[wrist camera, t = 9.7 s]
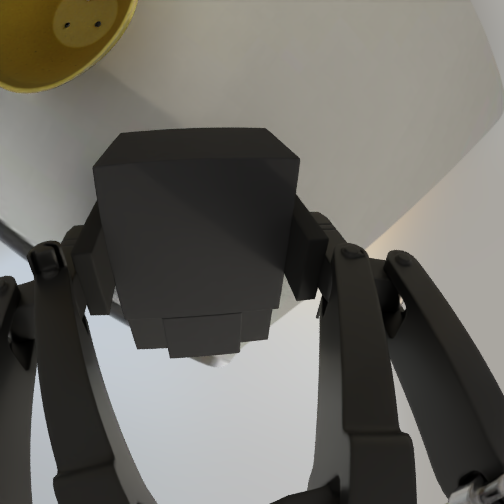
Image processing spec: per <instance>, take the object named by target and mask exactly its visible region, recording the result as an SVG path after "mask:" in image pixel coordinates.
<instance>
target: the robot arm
mask: <svg viewBox="0 0 504 504" xmlns="http://www.w3.org/2000/svg"><path fill="white" fill-rule="evenodd" d="M27 259H28V262H29V265H30V267H31V270H32V272H33V275H34V280H33V281H31V282H27V283H24V284H21V285H17V283H16V281H15V279H14V278H13V277H12V276H4V277H0V504H32V493H31V472H30V437H31V416H32V403H33V393H34V383H35V376H36V368H37V366H38V374H39V382H40V389H41V396H42V402H43V408H44V413H45V419H46V423H47V428H48V433H49V437H50V442H51V446H52V450H53V453H54V457H55V461H56V464H57V469H58V473H57V475H56V476H55V477H54V478H53V487H54V491H55V495H56V498H57V501H58V504H157V503H156V501H155V499H154V498H153V496H152V495H151V493H150V492H149V490H148V489H147V488H146V485H145V484H144V482H143V480H142V478H141V476H140V474H139V471H138V469H137V467H136V465H135V463H134V460H133V458H132V456H131V454H130V451H129V449H128V447H127V444H126V442H125V439H124V437H123V434H122V432H121V429H120V427H119V424H118V421H117V419H116V416H115V414H114V411H113V408H112V405H111V402H110V399H109V396H108V393H107V390H106V388H105V384H104V381H103V378H102V374H101V371H100V368H99V365H98V361H97V357H96V353H95V350H94V346H93V342H92V338H91V334H90V330H89V326H88V322H87V319H86V317H85V314H84V313H85V309H86V305H87V307H88V309H89V312H90V315H109V314H110V309H111V303H112V298H113V293H114V288H115V280H114V276H113V272H112V268H111V264H110V260H109V256H108V251H107V247H106V242H105V237H104V232H103V227H102V224H101V218H100V213H99V207H98V201H96V203H95V205H94V207H93V209H92V211H91V212H90V214H89V216H88V218H87V220H86V222H85V224H84V225H78V226H74V227H72V228H71V229H70V230H69V231H68V232H67V233H66V235H65V237H64V239H63V241H62V242H61V244H60V243H59V242H57V241H46V242H42V243H40V244H38V245H36V246H35V247H33V248H32V249H31V250H30V251H29V252H28V254H27ZM284 274H285V276H286V278H287V280H288V283H289V285H290V287H291V289H292V292H293V294H294V296H295V298H296V301H301V300H310V299H315V297H316V292H317V289H318V288H319V290H320V292H321V293H322V297H321V301H320V305H319V308H318V312H317V315H316V318H319V316H320V343H319V350H320V351H319V383H318V408H317V425H316V442H315V454H314V465H313V469H312V472H311V475H310V478H309V482H308V488H307V491H305V492H300V493H296V494H292V495H288V496H286V497H284V498H281V499H280V500H277V501H275V502H273V503H270V504H417V494H416V472H415V459H414V448H413V443H412V439H411V437H410V436H409V434H407V433H404V432H401V430H400V428H399V422H398V413H397V404H396V396H395V388H394V381H393V374H392V368H391V362H390V359H391V361H392V364H393V366H394V369H395V371H396V373H397V376H398V378H399V380H400V383H401V385H402V388H403V390H404V392H405V395H406V398H407V400H408V403H409V405H410V407H411V410H412V413H413V415H414V418H415V421H416V423H417V426H418V429H419V431H420V434H421V437H422V440H423V442H424V445H425V448H426V451H427V454H428V457H429V460H430V463H431V466H432V468H433V471H434V473H435V476H436V479H437V481H438V483H439V485H440V486H441V488H442V491H443V492H444V494H445V495H446V497H447V498H448V503H446V504H504V395H503V393H502V391H501V390H500V388H499V386H498V384H497V382H496V380H495V378H494V376H493V375H492V373H491V371H490V369H489V368H488V366H487V364H486V362H485V361H484V359H483V357H482V355H481V354H480V352H479V350H478V349H477V347H476V345H475V344H474V342H473V340H472V339H471V337H470V336H469V334H468V332H467V331H466V329H465V328H464V326H463V325H462V323H461V322H460V320H459V319H458V317H457V316H456V314H455V312H454V311H453V309H452V308H451V306H450V305H449V304H448V302H447V301H446V299H445V298H444V296H443V295H442V293H441V292H440V291H439V289H438V288H437V287H436V285H435V284H434V282H433V281H432V279H431V278H430V277H429V275H428V274H427V273H426V271H425V270H424V269H423V268H422V266H421V265H420V263H419V262H418V261H417V260H416V259H415V258H414V257H413V256H412V255H410V254H409V253H407V252H404V251H400V250H393V251H390V252H389V253H388V255H387V258H386V260H379V259H373V258H369V256H368V254H367V252H366V251H365V250H364V249H363V248H361V247H359V246H357V245H355V244H351V243H347V242H346V241H345V240H344V238H343V237H342V236H341V234H340V233H339V232H338V231H337V230H336V228H335V227H334V226H333V225H332V223H331V222H330V221H329V219H328V218H327V217H325V216H324V215H322V214H321V213H319V212H309V211H308V209H307V208H306V207H305V205H304V204H303V203H302V202H301V200H300V199H299V198H298V196H297V195H296V196H295V203H294V210H293V215H292V222H291V229H290V236H289V243H288V250H287V257H286V263H285V270H284ZM403 301H404V303H405V305H406V310H404V309H403V307H402V304H403ZM8 336H9V337H8Z"/></svg>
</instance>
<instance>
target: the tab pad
mask: <svg viewBox="0 0 504 504" xmlns="http://www.w3.org/2000/svg"><path fill="white" fill-rule="evenodd" d="M299 165H300V158H299V157H298V156H296V155H295V154H294V153H293V152H292V151H291V150H290V149H289V148H288V147H286V146H285V145H284V144H283V143H282V142H281V141H280V140H279V139H277V138H276V137H275V136H274V135H273V134H272V133H271V132H269V131H268V130H267V129H266V128H186V129H166V130H151V131H139V132H128V133H120V134H119V136H118V137H117V138H116V139H115V140H114V141H113V143H112V144H111V145H110V146H109V147H108V149H107V150H106V151H105V152H104V153H103V155H102V156H101V157H100V158H99V160H98V161H97V162H96V163H95V165H94V166H93V175H94V182H95V189H96V195H97V201H98V207H99V213H100V218H101V224H102V227H103V232H104V237H105V242H106V247H107V251H108V256H109V260H110V264H111V268H112V272H113V276H114V280H115V286H116V289H117V293H118V297H119V300H120V304H121V308H122V311H123V314H124V318H125V320H134V319H155V318H162V322H163V327H164V332H165V337H166V342H167V346H168V351H169V355H170V358H185V357H199V356H211V355H222V354H232V353H239V352H240V339H241V322H242V312H249V311H259V310H269V309H278V308H279V302H280V296H281V290H282V284H283V278H284V270H285V263H286V257H287V250H288V243H289V236H290V229H291V222H292V215H293V210H294V203H295V196H296V188H297V181H298V173H299Z"/></svg>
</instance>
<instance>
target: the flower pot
mask: <svg viewBox="0 0 504 504" xmlns="http://www.w3.org/2000/svg"><path fill="white" fill-rule="evenodd" d="M137 2H138V0H89V1H86V0H0V87H1V88H3V89H6V90H8V91H11V92H16V93H38V92H43V91H47V90H50V89H53V88H56V87H58V86H60V85H63V84H65V83H67V82H69V81H71V80H72V79H74V78H76V77H77V76H79V75H81V74H82V73H84V72H85V71H87V70H88V69H89V68H91V67H92V66H93V65H95V64H96V63H97V62H98V61H99V60H101V59H102V58H103V57H104V56H105V55H106V54H107V53H108V52H109V51H110V50H111V49H112V48H113V46H114V45H115V44H116V43H117V42H118V40H119V39H120V38H121V36H122V35H123V33H124V32H125V30H126V28H127V27H128V25H129V23H130V21H131V19H132V17H133V14H134V12H135V9H136V6H137ZM98 21H100V22H101V25H100V26H99V27H96V26H95V24H96V22H98ZM66 23H70V25H69V27H67V28H65V25H66Z"/></svg>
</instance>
